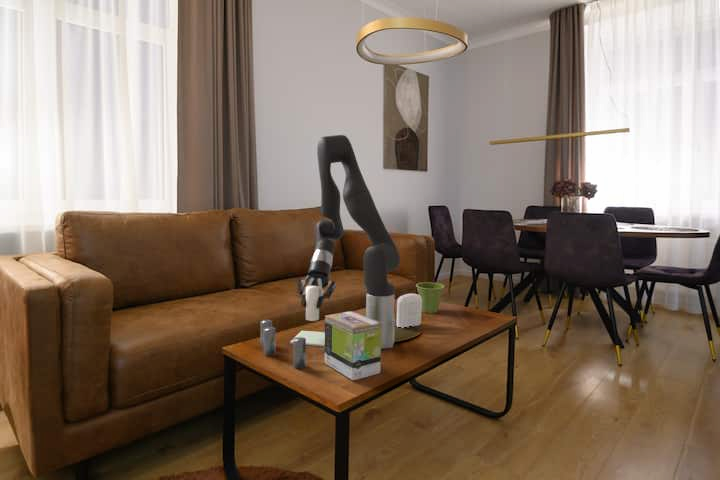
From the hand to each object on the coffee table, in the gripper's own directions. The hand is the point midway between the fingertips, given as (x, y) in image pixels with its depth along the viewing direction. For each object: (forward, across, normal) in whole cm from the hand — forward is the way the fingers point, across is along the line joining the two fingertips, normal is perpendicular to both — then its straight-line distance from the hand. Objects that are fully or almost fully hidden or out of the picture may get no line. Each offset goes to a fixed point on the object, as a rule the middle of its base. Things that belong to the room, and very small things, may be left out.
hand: (310, 307), depth 146 cm
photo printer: (-8, +31, +25) cm, 41 cm away
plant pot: (-24, +38, +41) cm, 61 cm away
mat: (+7, 0, +9) cm, 12 cm away
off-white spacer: (+2, 0, +5) cm, 5 cm away
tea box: (+22, +18, -6) cm, 29 cm away
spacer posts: (+18, -1, -2) cm, 18 cm away
